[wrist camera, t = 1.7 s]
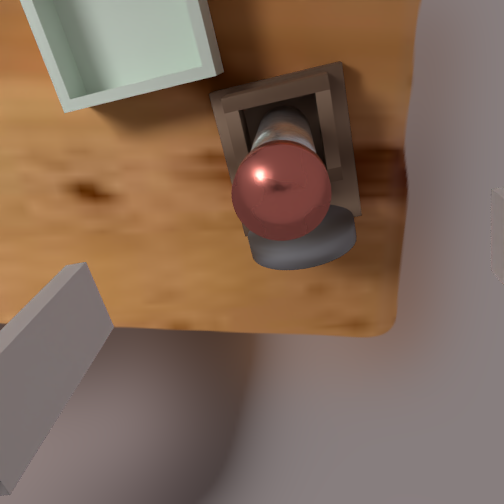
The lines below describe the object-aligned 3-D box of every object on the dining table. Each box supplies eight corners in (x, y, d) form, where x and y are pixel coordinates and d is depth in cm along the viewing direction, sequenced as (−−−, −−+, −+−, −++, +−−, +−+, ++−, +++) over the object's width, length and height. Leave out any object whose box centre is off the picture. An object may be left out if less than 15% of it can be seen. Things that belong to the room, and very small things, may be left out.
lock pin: (248, 108, 33) (220, 157, 19) (308, 95, 32) (323, 135, 19) (261, 167, 35) (244, 248, 21) (318, 155, 34) (338, 231, 21)
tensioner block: (211, 91, 34) (186, 109, 26) (339, 61, 33) (357, 68, 24) (248, 235, 39) (237, 289, 31) (359, 215, 38) (380, 266, 29)
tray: (24, -63, 31) (-11, -77, 27) (180, -114, 29) (164, -136, 25) (87, 105, 35) (64, 113, 32) (224, 71, 33) (216, 75, 30)
